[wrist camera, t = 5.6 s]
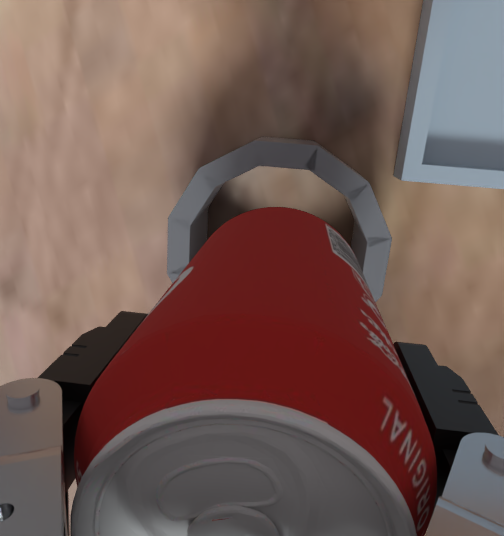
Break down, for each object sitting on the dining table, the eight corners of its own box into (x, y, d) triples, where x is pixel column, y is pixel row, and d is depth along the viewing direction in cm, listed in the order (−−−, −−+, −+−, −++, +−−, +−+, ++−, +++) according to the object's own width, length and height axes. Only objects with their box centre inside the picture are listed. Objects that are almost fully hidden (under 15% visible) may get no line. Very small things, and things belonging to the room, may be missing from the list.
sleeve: (386, 146, 23) (407, 152, 18) (357, 324, 26) (369, 365, 22) (192, 130, 23) (169, 133, 19) (187, 306, 26) (166, 342, 22)
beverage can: (174, 230, 18) (-53, 425, 6) (333, 179, 16) (411, 304, 5) (228, 369, 19) (125, 727, 8) (376, 332, 18) (509, 687, 7)
